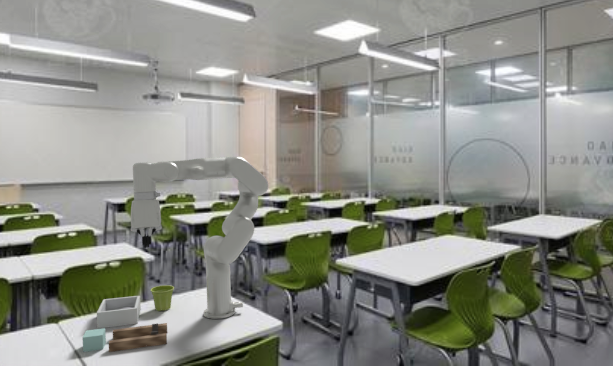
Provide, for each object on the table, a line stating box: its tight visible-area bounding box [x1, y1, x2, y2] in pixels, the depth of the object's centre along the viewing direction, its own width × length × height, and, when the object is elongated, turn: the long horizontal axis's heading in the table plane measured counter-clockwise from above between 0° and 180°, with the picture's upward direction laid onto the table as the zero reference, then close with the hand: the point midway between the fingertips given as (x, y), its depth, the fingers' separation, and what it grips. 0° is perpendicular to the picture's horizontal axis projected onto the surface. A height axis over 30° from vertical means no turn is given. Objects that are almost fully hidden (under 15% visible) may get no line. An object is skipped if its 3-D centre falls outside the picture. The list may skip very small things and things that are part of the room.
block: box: [82, 328, 107, 353], centre depth 143 cm, size 6×6×5 cm
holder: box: [96, 295, 142, 329], centre depth 168 cm, size 14×16×6 cm
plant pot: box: [150, 284, 175, 312], centre depth 178 cm, size 9×9×9 cm
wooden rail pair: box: [108, 322, 168, 353], centre depth 147 cm, size 18×12×4 cm, turn 107°
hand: (147, 246), depth 154 cm, fingers closed
